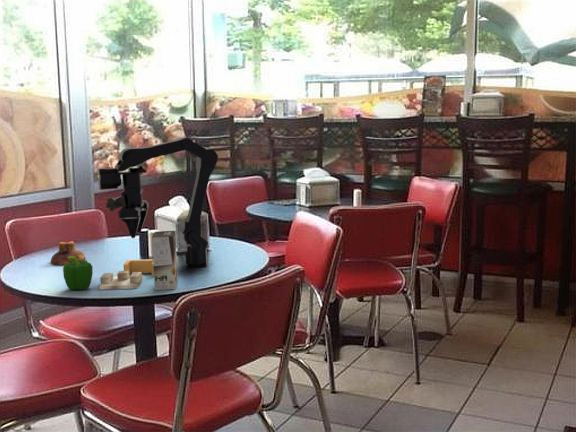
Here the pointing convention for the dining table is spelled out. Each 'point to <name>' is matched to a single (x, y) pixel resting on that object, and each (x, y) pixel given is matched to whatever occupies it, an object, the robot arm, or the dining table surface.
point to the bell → (67, 254)
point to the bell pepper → (77, 274)
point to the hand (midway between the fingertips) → (136, 235)
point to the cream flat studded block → (121, 280)
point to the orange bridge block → (139, 266)
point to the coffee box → (164, 260)
